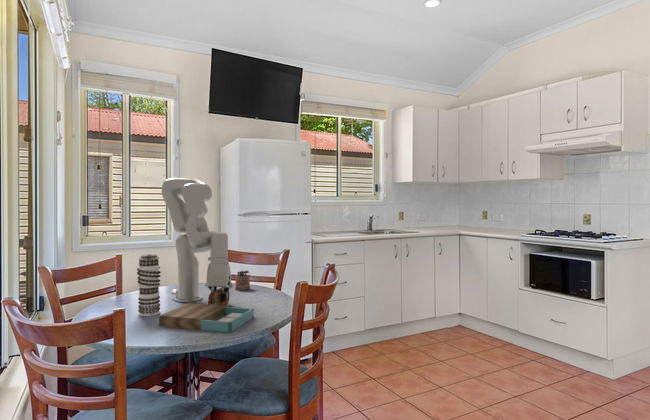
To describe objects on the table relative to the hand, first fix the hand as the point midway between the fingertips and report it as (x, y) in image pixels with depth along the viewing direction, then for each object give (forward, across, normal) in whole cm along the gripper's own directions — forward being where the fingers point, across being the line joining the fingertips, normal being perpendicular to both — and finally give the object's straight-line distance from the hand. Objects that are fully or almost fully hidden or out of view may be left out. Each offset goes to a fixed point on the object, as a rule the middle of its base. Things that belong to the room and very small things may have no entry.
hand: (219, 301), depth 183 cm
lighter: (+3, -7, +38) cm, 39 cm away
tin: (+3, 0, 0) cm, 3 cm away
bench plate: (+3, 0, -20) cm, 20 cm away
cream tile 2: (+1, +16, -16) cm, 23 cm away
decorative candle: (+3, -24, -16) cm, 29 cm away
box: (+3, +15, -20) cm, 25 cm away
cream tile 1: (+1, +16, -24) cm, 29 cm away
